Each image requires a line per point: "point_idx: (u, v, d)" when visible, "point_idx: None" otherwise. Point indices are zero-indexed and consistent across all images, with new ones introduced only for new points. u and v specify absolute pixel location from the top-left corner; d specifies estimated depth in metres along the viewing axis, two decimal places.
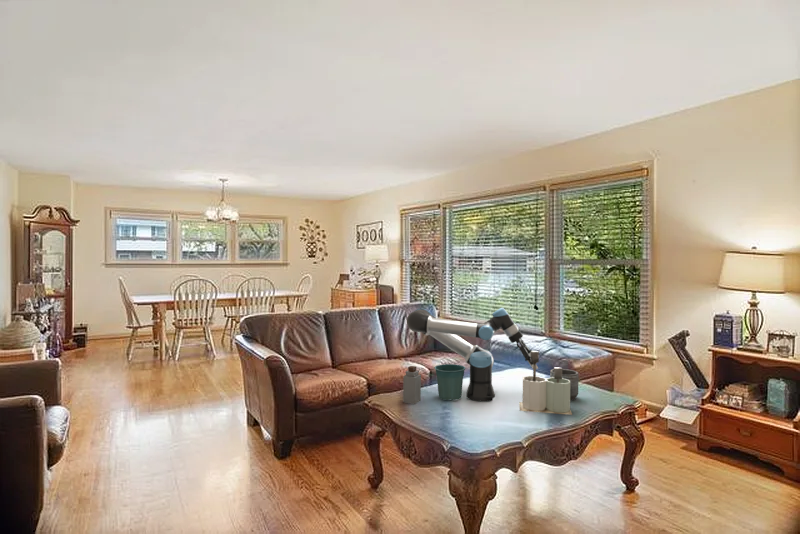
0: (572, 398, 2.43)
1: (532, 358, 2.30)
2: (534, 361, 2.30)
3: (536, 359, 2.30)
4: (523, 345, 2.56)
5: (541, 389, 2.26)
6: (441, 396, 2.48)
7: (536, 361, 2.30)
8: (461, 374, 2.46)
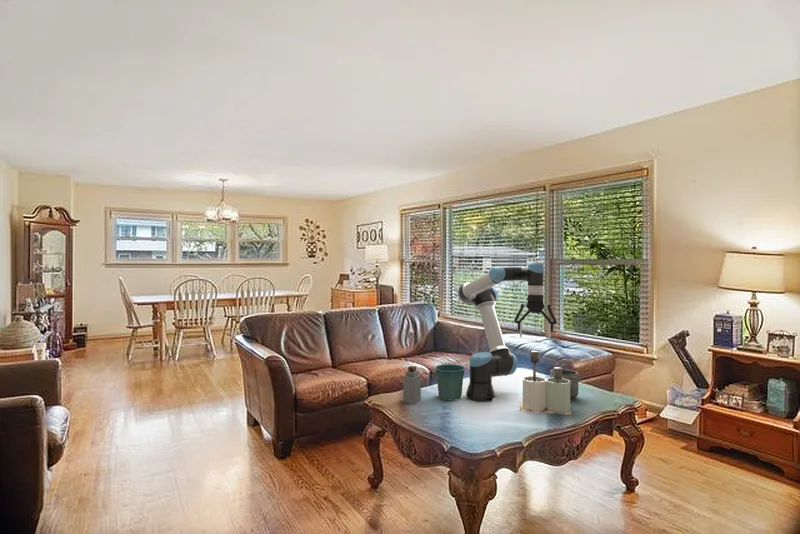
0: (572, 398, 2.43)
1: (532, 358, 2.30)
2: (534, 361, 2.30)
3: (536, 359, 2.30)
4: None
5: (541, 389, 2.26)
6: (441, 396, 2.48)
7: (536, 361, 2.30)
8: (461, 374, 2.46)
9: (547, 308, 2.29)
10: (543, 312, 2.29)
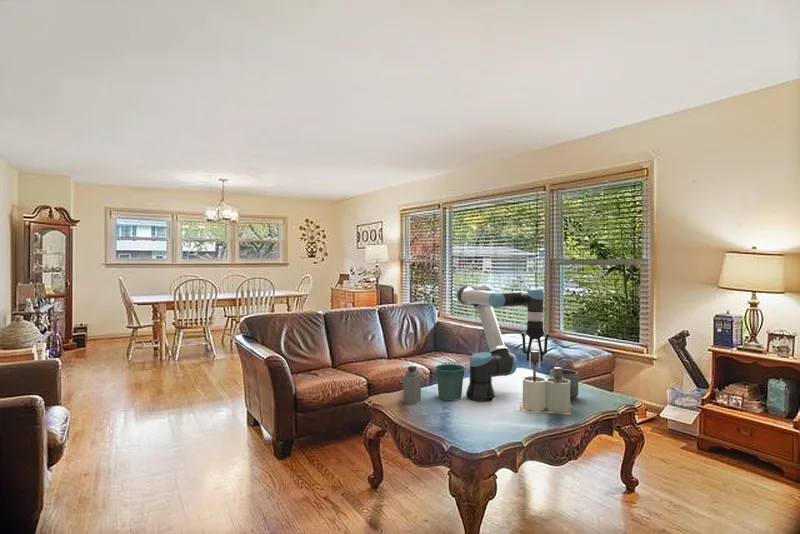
0: (572, 398, 2.43)
1: (532, 358, 2.30)
2: (534, 361, 2.30)
3: (536, 359, 2.30)
4: None
5: (541, 389, 2.26)
6: (441, 396, 2.48)
7: (536, 361, 2.30)
8: (461, 374, 2.46)
9: (545, 337, 2.30)
10: (539, 340, 2.29)
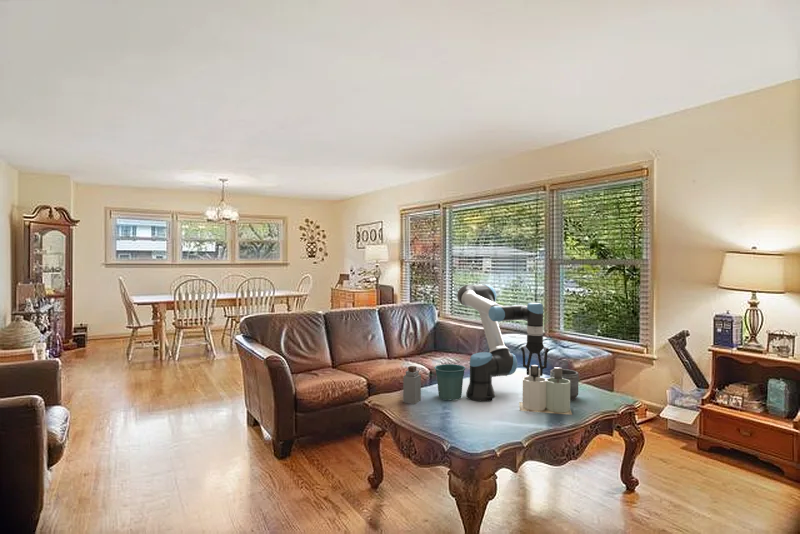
0: (572, 398, 2.43)
1: (532, 372, 2.30)
2: (534, 375, 2.30)
3: (536, 373, 2.30)
4: None
5: (541, 389, 2.26)
6: (441, 396, 2.48)
7: (536, 375, 2.30)
8: (461, 374, 2.46)
9: (545, 351, 2.30)
10: (539, 355, 2.29)
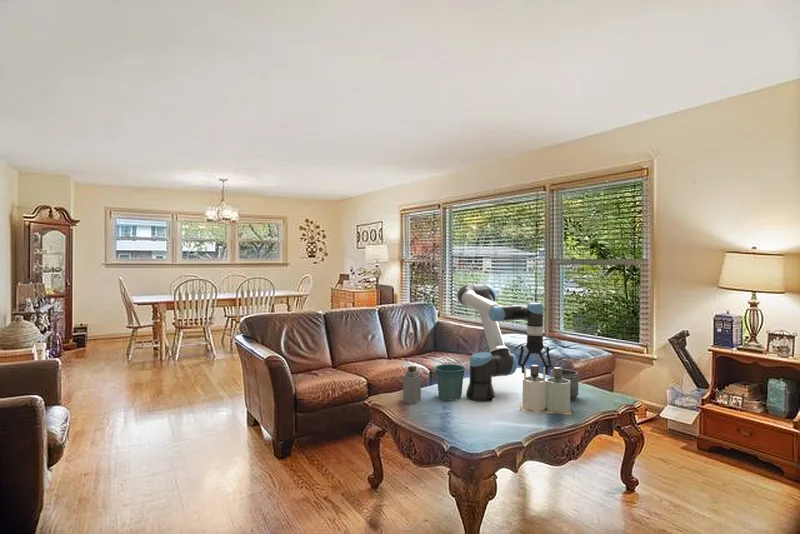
0: (572, 398, 2.43)
1: (532, 372, 2.30)
2: (534, 375, 2.30)
3: (536, 373, 2.30)
4: None
5: (541, 389, 2.26)
6: (441, 396, 2.48)
7: (536, 375, 2.30)
8: (461, 374, 2.46)
9: None
10: (541, 354, 2.29)
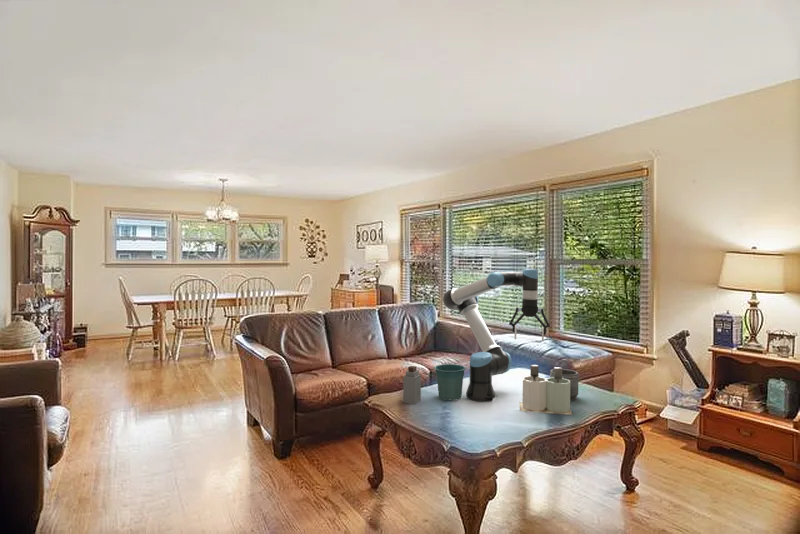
0: (572, 398, 2.43)
1: (532, 372, 2.30)
2: (534, 375, 2.30)
3: (536, 373, 2.30)
4: None
5: (541, 389, 2.26)
6: (441, 396, 2.48)
7: (536, 375, 2.30)
8: (461, 374, 2.46)
9: (541, 312, 2.41)
10: (537, 316, 2.40)
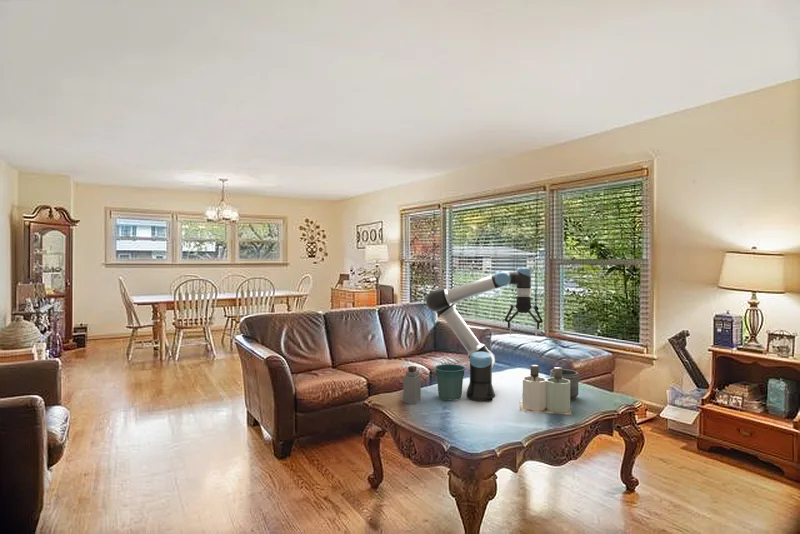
0: (572, 398, 2.43)
1: (532, 372, 2.30)
2: (534, 375, 2.30)
3: (536, 373, 2.30)
4: None
5: (541, 389, 2.26)
6: (441, 396, 2.48)
7: (536, 375, 2.30)
8: (461, 374, 2.46)
9: (534, 308, 2.56)
10: (530, 312, 2.55)
